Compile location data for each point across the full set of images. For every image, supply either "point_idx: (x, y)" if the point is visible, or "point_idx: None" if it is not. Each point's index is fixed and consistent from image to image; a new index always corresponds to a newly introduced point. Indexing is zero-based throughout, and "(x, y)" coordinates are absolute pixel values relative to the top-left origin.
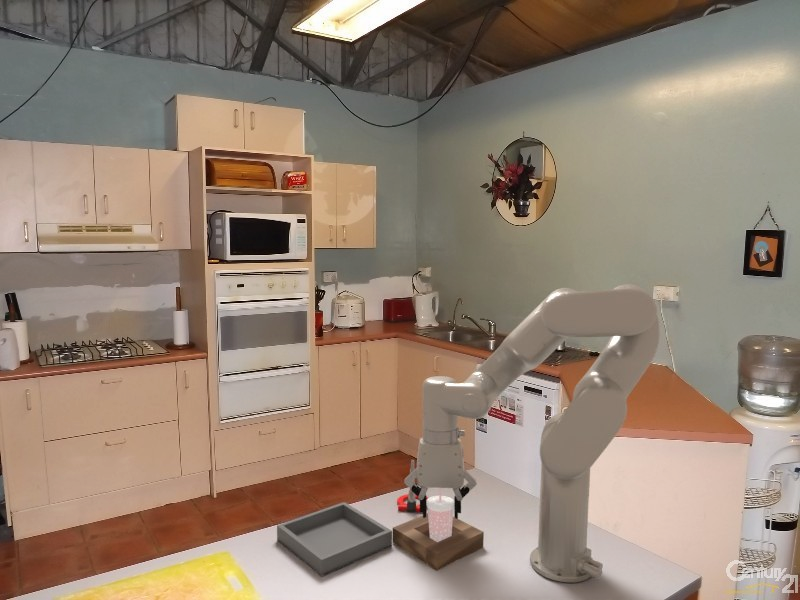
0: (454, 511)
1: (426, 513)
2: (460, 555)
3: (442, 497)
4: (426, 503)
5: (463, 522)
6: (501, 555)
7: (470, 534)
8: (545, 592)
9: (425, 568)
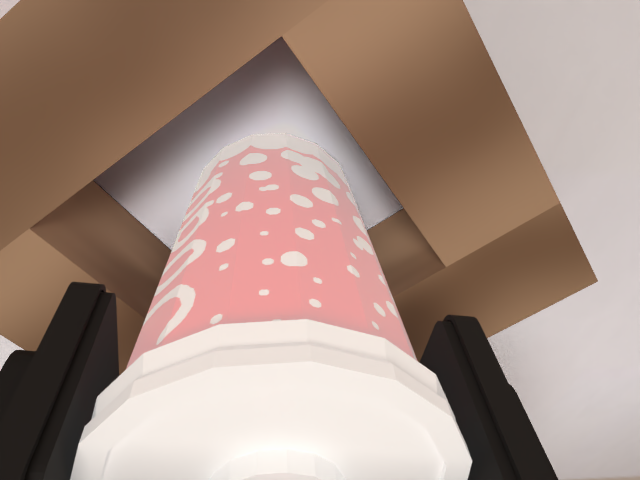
0: None
1: (116, 335)
2: None
3: (333, 392)
4: (81, 427)
5: (514, 138)
6: (598, 287)
7: (488, 307)
8: (607, 474)
9: None
